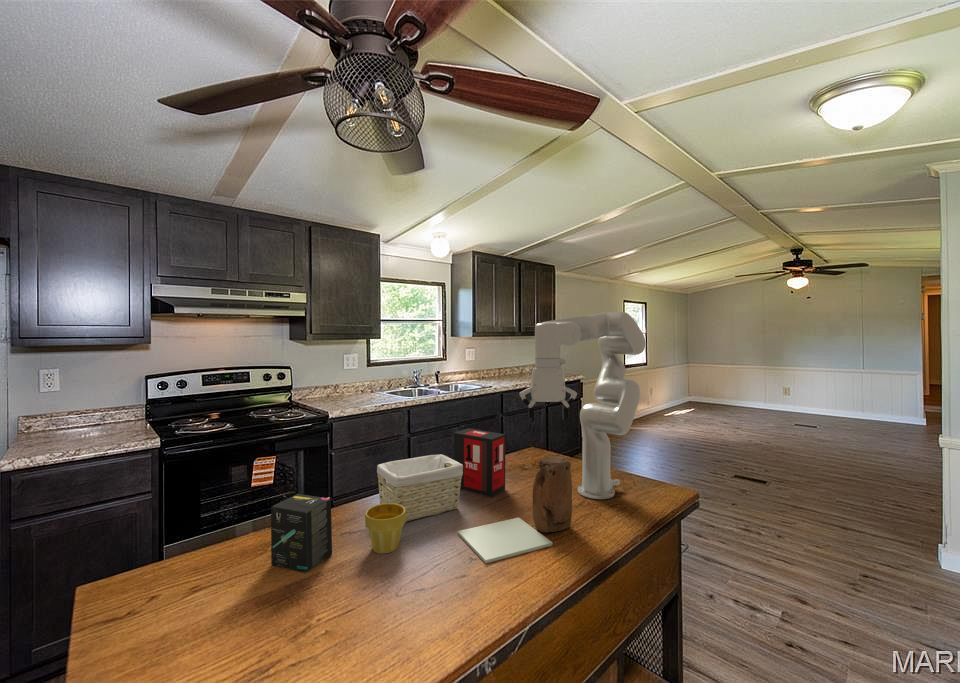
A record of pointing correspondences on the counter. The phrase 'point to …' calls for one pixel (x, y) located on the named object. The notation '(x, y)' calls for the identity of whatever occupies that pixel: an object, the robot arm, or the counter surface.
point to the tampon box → (301, 532)
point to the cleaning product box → (481, 461)
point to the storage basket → (421, 484)
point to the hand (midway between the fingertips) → (548, 419)
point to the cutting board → (503, 539)
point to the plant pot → (385, 526)
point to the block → (552, 495)
